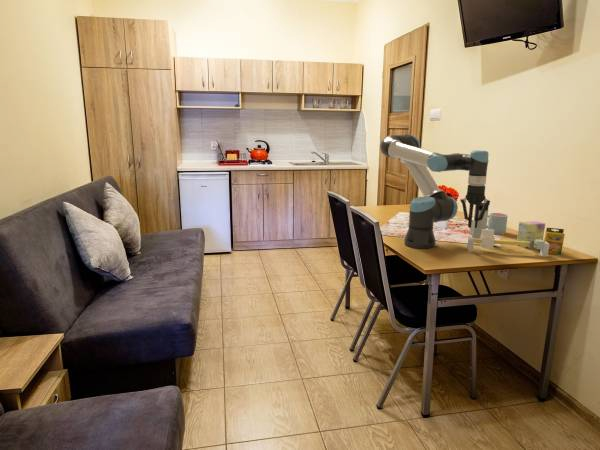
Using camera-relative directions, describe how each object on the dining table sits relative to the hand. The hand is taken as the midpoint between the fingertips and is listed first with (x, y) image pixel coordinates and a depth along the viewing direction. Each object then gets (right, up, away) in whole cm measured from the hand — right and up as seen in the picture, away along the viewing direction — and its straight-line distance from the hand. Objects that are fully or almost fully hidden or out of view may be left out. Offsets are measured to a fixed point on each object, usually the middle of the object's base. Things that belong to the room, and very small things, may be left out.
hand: (471, 234), depth 195 cm
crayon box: (+37, -9, -1) cm, 38 cm away
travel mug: (+11, -4, +18) cm, 21 cm away
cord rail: (+16, -9, -1) cm, 18 cm away
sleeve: (+7, -6, 0) cm, 9 cm away
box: (+33, -6, +10) cm, 35 cm away
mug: (+26, 0, +36) cm, 45 cm away
